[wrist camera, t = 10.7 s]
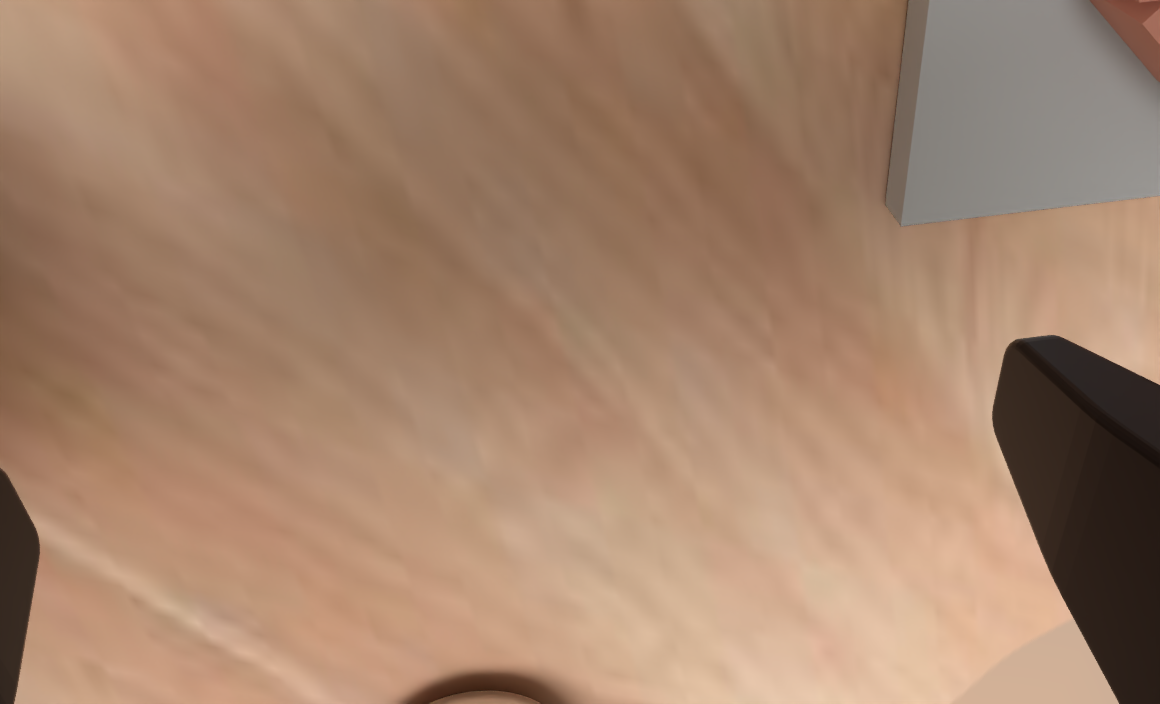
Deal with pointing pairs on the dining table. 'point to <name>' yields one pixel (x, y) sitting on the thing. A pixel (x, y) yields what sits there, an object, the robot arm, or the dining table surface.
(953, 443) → the dining table surface
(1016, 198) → the band dock
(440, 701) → the plastic bottle
